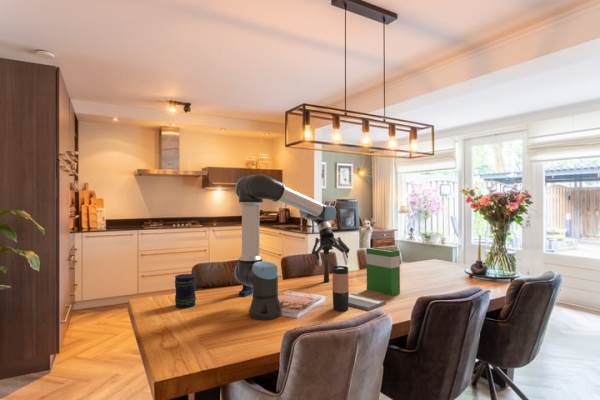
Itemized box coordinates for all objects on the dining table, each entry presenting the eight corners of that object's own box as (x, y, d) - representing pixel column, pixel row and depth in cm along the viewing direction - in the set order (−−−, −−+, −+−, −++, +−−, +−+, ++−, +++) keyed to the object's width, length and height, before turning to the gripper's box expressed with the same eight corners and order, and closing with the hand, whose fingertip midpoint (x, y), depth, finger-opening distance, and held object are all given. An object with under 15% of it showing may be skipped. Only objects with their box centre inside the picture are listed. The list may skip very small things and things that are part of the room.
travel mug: (347, 306, 172) (346, 265, 172) (350, 311, 165) (349, 268, 165) (331, 306, 172) (331, 266, 172) (333, 311, 164) (333, 269, 164)
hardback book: (366, 289, 205) (366, 248, 205) (375, 287, 209) (374, 247, 209) (391, 295, 191) (391, 251, 191) (399, 293, 195) (399, 250, 195)
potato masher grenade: (322, 283, 220) (321, 235, 220) (318, 280, 228) (317, 234, 228) (335, 282, 222) (334, 235, 222) (330, 279, 230) (329, 234, 230)
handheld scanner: (235, 296, 192) (235, 260, 191) (252, 289, 206) (253, 256, 206) (242, 297, 189) (242, 261, 189) (259, 291, 204) (259, 257, 204)
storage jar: (200, 304, 178) (199, 275, 178) (184, 309, 170) (184, 278, 170) (186, 301, 183) (186, 273, 183) (170, 306, 175) (170, 276, 175)
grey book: (368, 310, 165) (368, 306, 165) (334, 301, 180) (333, 298, 180) (385, 303, 176) (385, 300, 176) (351, 296, 191) (351, 292, 191)
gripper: (345, 235, 199) (355, 267, 184) (302, 236, 194) (308, 269, 179) (348, 226, 194) (358, 258, 179) (304, 228, 189) (311, 260, 174)
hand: (333, 264), depth 179 cm, fingers open, 13 cm apart
